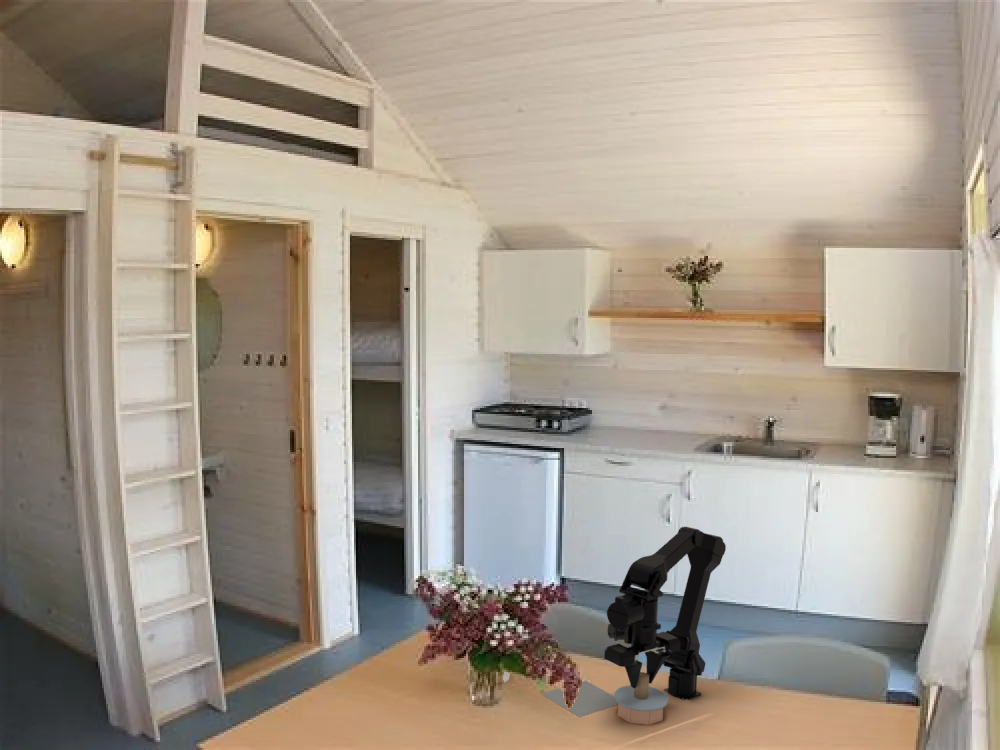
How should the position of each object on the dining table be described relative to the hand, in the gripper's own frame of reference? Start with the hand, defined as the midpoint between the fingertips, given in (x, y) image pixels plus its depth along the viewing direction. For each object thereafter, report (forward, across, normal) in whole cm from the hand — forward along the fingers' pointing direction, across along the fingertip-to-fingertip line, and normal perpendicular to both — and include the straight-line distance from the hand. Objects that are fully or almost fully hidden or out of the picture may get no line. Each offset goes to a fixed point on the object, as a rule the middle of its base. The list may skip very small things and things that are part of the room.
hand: (641, 685), depth 200 cm
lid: (+3, 0, 0) cm, 3 cm away
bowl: (+7, 0, 0) cm, 7 cm away
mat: (+7, +6, -13) cm, 16 cm away
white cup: (+7, +17, -33) cm, 38 cm away
